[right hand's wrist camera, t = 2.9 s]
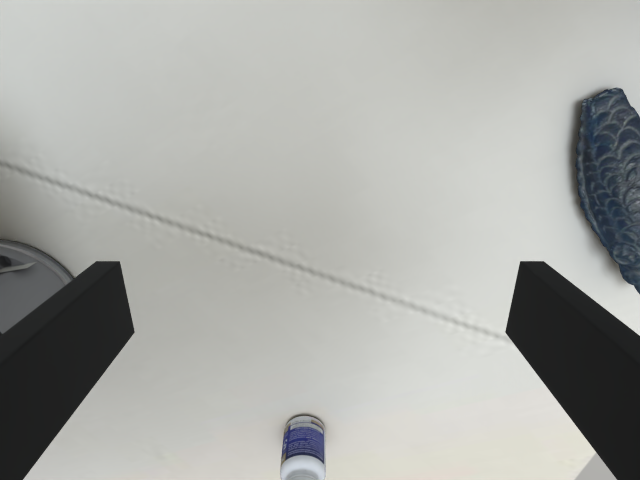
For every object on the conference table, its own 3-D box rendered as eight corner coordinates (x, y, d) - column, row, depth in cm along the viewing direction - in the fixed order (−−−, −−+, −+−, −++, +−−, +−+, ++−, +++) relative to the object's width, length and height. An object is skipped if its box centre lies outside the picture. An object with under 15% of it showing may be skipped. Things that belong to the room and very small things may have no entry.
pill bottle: (279, 418, 49) (271, 485, 40) (320, 411, 48) (320, 478, 40) (290, 448, 51) (284, 518, 42) (329, 441, 50) (331, 511, 42)
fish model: (598, 294, 42) (633, 319, 37) (548, 113, 35) (583, 116, 31) (661, 269, 41) (705, 291, 36) (622, 77, 34) (670, 75, 30)
